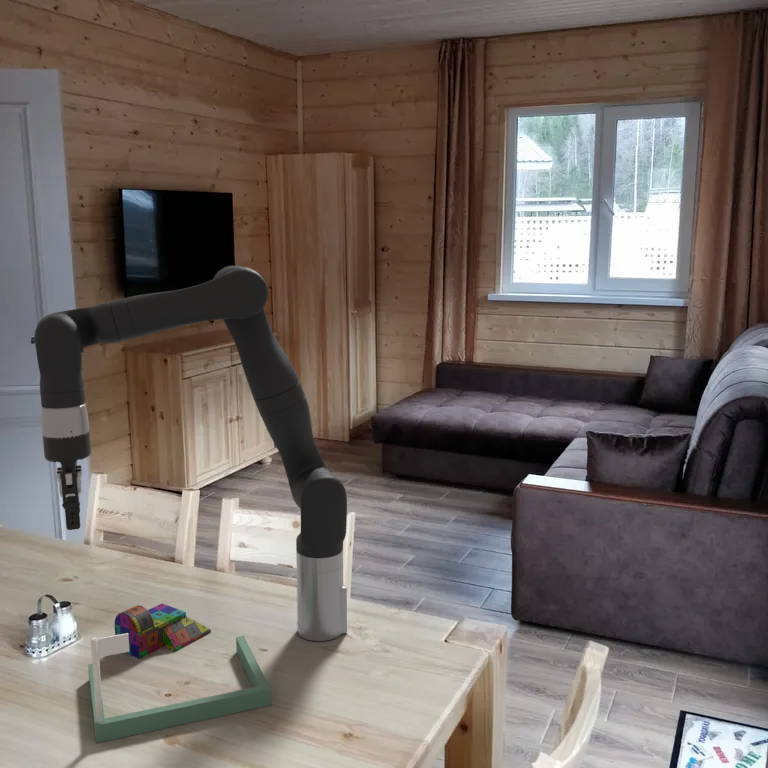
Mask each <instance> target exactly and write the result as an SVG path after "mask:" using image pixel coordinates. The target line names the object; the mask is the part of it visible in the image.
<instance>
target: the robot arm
mask: <svg viewBox="0 0 768 768" xmlns="http://www.w3.org/2000/svg"><path fill="white" fill-rule="evenodd" d="M268 298H269V288H268V285H267V282H266V280H265V278H264V277H263V276H261V274H260V273H258V272H257V271H256V270H254V269H252V268H251V267H250V268H249V267H246V266H241V265H228V266H224V267H223V268H221V269H220V270H218V271H217V273H215V275H214V277H213V278H212V279H211V280H208V281H205V282H204V283H200V284H197V285H193V286H189V287H185V288H181V289H176V290H175V289H174V290H168V291H161V292H153V293H145V294H144V293H143V294H138V295H133V296H129V297H124V298H121V299H120V298H119V299H115V300H111V301H109V302H108V301H107V302H103V303H99V304H96V305H94V306H90V307H80V308H75V309H73V308H72V309H68V310H61V311H57V312H53V313H50V314H47V315H45V316H44V317H42V318H41V319H40V320H39V322H38V323H37V324H36V325H37V326H36V328H35V330H34V345H35V346H34V347H35V352H36V359H37V364H38V366H37V367H38V370H39V377H40V378H39V393H40V394H39V395H40V405H41V415H40V418H41V419H40V421H41V422H40V423H41V434H42V445H43V446H42V447H43V454H44V456H43V457H44V460H46V462H47V461H48V462H50V463H60V466H58V467H57V468H56V477H57V478H56V479H57V482H58V487H59V489H58V490H59V496H60V497H61V498H62V505H61V506H62V508H63V510H64V514H65V525H66V530H67V531H73V530H79V529H80V528H81V517H80V515H81V514H80V512H81V507H80V506H81V502H80V496H81V495H82V494H83V493H82V479H83V470H82V469H83V468H82V465H81V464H79V465H78V461H79V460H84V459H86V458H89V457H90V455H92V454H91V453H92V448H91V447H92V446H91V437H90V435H91V434H90V422H89V414H88V409H87V405H86V393H85V392H86V391H85V384H84V383H85V382H84V379H83V378H84V377H83V374H82V349H83V348H86V347H91V346H94V345H98V344H106V345H109V344H115V343H119V342H125V341H128V340H132V339H136V338H141V337H144V336H147V335H151V334H155V333H160V332H163V331H166V330H170V329H172V328H177V327H182V326H186V325H191V324H196V323H203V322H209V321H218V320H223V322H224V324H225V326H226V327H227V330H228V332H229V333H230V335H231V338H232V340H233V343H234V344H235V347H236V350H237V353H238V357H239V360H240V363H241V366H242V369H243V370H242V371H243V372H244V374H245V375H244V376H245V379H246V381H247V384H248V387H249V390H250V393H251V395H252V398H253V401H254V403H255V406H256V408H257V410H258V413H259V415H260V417H261V419H262V421H263V424H264V426H265V428H266V430H267V431H268V434H269V436H270V439H271V440H272V442H273V444H274V446H275V447H276V449H277V450H278V451H277V452H278V453H279V455H280V458H281V461H282V464H283V467H284V471H285V475H286V477H287V481H288V485H289V490H290V493H291V496H292V499H293V501H294V503H295V504H296V505H297V507H298V508H299V510H300V533H298V535H297V537H296V540H295V541H296V542H295V545H296V546H295V547H296V552H295V554H296V556H295V557H296V558H295V559H296V560H295V561H296V605H297V606H296V607H297V611H296V613H297V614H296V615H297V621H296V623H297V634H298V635H299V636H300V637H301V638H303V639H305V640H308V641H314V642H325V641H326V642H327V641H331V640H333V639H337V638H338V637H340V636H341V635H344V634H346V633H348V599H347V598H348V590H347V589H348V588H347V586H346V585H344V541H345V538H346V536H347V526H348V525H347V523H348V522H347V519H348V498H347V497H348V495H347V490H346V487H345V486H344V484H343V482H342V481H341V480H340V479H339V478H337V477H336V476H335V475H334V474H333V473H332V472H331V471H330V469H329V468H328V466H327V465H326V463H325V461H324V458H323V457H322V455H321V452H320V451H319V449H318V446H317V444H316V441H315V438H314V435H313V429H312V428H313V427H312V420H311V419H312V418H311V412H310V407H309V403H308V399H307V397H306V393H305V391H304V388H303V386H302V384H301V381H300V378H299V376H298V373H297V371H296V369H295V368H294V366H293V364H292V363H291V360H290V359H289V357H288V355H287V354H286V352H285V350H284V349H283V347H282V345H281V344H280V342H279V341H278V339H277V338H276V336H275V334H274V332H273V330H272V328H271V325H270V323H269V320H268V317H267V314H266V310H265V305H266V304H267V301H268Z"/></svg>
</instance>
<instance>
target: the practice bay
mask: <svg viewBox="0 0 768 768" xmlns="http://www.w3.org/2000/svg"><path fill="white" fill-rule="evenodd" d="M235 644H236V646H235V650H236V654H237V656H238V657H239V660H240V662H241V665H242V667H243V669H244V672H245V673H246V675H247V677H248V680H249V682H250V685H251V686H252V687H249V688H245V689H240V690H235V691H231V692H226V693H221V694H214V695H211V696H206V697H202V698H201V697H200V698H197V699H191V700H187V701H183V702H177V703H176V702H175V703H173V704H167V705H163V706H158V707H153V708H148V709H143V710H139V711H134V712H129V713H124V714H118V715H115V716H110V717H105V712H104V704H103V697H102V681H101V667H100V666H101V665H100V657H101V658H102V657H107V656H113V655H114V656H115V655H119V654H126V653H125V652H129V636H128V633H126V634H120V635H115V634H114V635H109V636H104V637H93V638H91V639H90V645H91V661H92V663H88V678H89V689H90V697H91V706H92V708H91V709H92V715H93V717H92V718H93V727H94V734H95V743H96V744H99V743H103V742H107V741H112V740H117V739H123V738H125V737H131V736H135V735H139V734H140V735H141V734H145V733H149V732H150V733H151V732H154V731H158V730H163V729H168V728H172V727H177V726H182V725H186V724H189V723H195V722H199V721H205V720H209V719H214V718H218V717H223V716H227V715H231V714H237V713H241V712H246V711H251V710H255V709H259V708H264V707H268V706H271V705H272V697H271V695H272V694H271V690H272V689H271V687H270V685H269V683H268V681H267V680H266V677H265V675H264V672H263V671H262V670H261V666H260V665H259V663H258V661H257V660H256V657H255V656H254V653H253V651H252V649H251V647H250V645H249V643H248V642H247V639H246V637H245V635H242V636H241V635H240V636H236V637H235Z"/></svg>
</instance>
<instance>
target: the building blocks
mask: <svg viewBox="0 0 768 768" xmlns="http://www.w3.org/2000/svg"><path fill="white" fill-rule="evenodd" d="M126 633H128V636H129V652H125V653H124V654H127V655H129V656H131V657H134V658H135V659H138V660H141V659H143V658H146V657H147V656H149V655H151V654H153V653H155V652H157V651H159V650H161V649H162V648H166V649H168V650H171V651H173V652H177V651H179V650H182V649H183V648H185V647H186V646H188V645H191V644H192V643H195V642H196V641H197V640H200V639H202V638H203V637H205V636H207V635H209V634H211V633H212V629H211V628H209V627H207V626H205V625H203V624H202V623H199V622H198V621H196V620H194V619H192V618H191V617H188V615H187V612H186V611H184V610H182V609H178V608H177V607H176V608H175V607H173V606H170V605H169V604H165V603H160V604H158V605H156V606H153V607H151V608H148V609H147V608H146V607H144V606H142V605H138V604H137V605H135V606H133V607H130V608H128V609H127V610H124V611H122V612H119V613H118V614H117V615H116V617H115V618H114V635H120V634H126Z"/></svg>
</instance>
